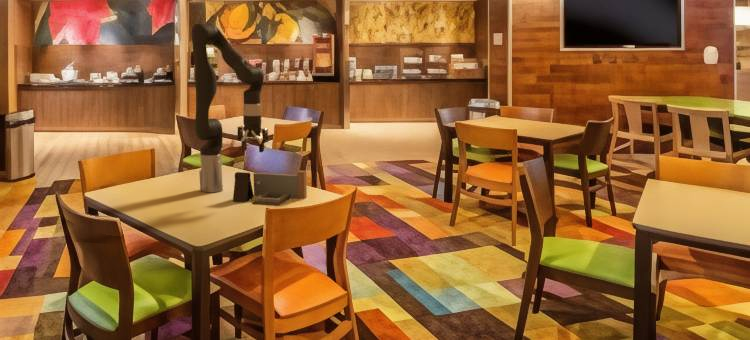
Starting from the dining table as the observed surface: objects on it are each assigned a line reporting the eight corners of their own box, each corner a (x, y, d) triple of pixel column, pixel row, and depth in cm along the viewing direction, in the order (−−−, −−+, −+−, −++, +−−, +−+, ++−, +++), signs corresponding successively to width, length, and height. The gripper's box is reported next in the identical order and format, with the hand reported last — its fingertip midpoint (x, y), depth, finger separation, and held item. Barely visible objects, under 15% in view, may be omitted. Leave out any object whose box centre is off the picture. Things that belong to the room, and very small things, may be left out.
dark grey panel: (253, 195, 278) (252, 169, 275) (256, 194, 281) (255, 168, 279) (303, 199, 272) (303, 172, 270) (306, 197, 276) (306, 170, 274)
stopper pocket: (252, 203, 264) (252, 199, 264) (265, 196, 278) (265, 191, 277) (279, 205, 262) (279, 200, 261) (290, 197, 275) (290, 193, 275)
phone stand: (245, 202, 267) (244, 175, 264) (232, 201, 268) (231, 174, 265) (254, 197, 275) (253, 171, 273) (241, 196, 276) (240, 170, 274)
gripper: (233, 113, 265) (234, 151, 268) (261, 116, 259) (262, 154, 263) (243, 112, 272) (244, 148, 275) (271, 114, 266) (271, 151, 270)
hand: (252, 151), depth 269 cm, fingers open, 8 cm apart
